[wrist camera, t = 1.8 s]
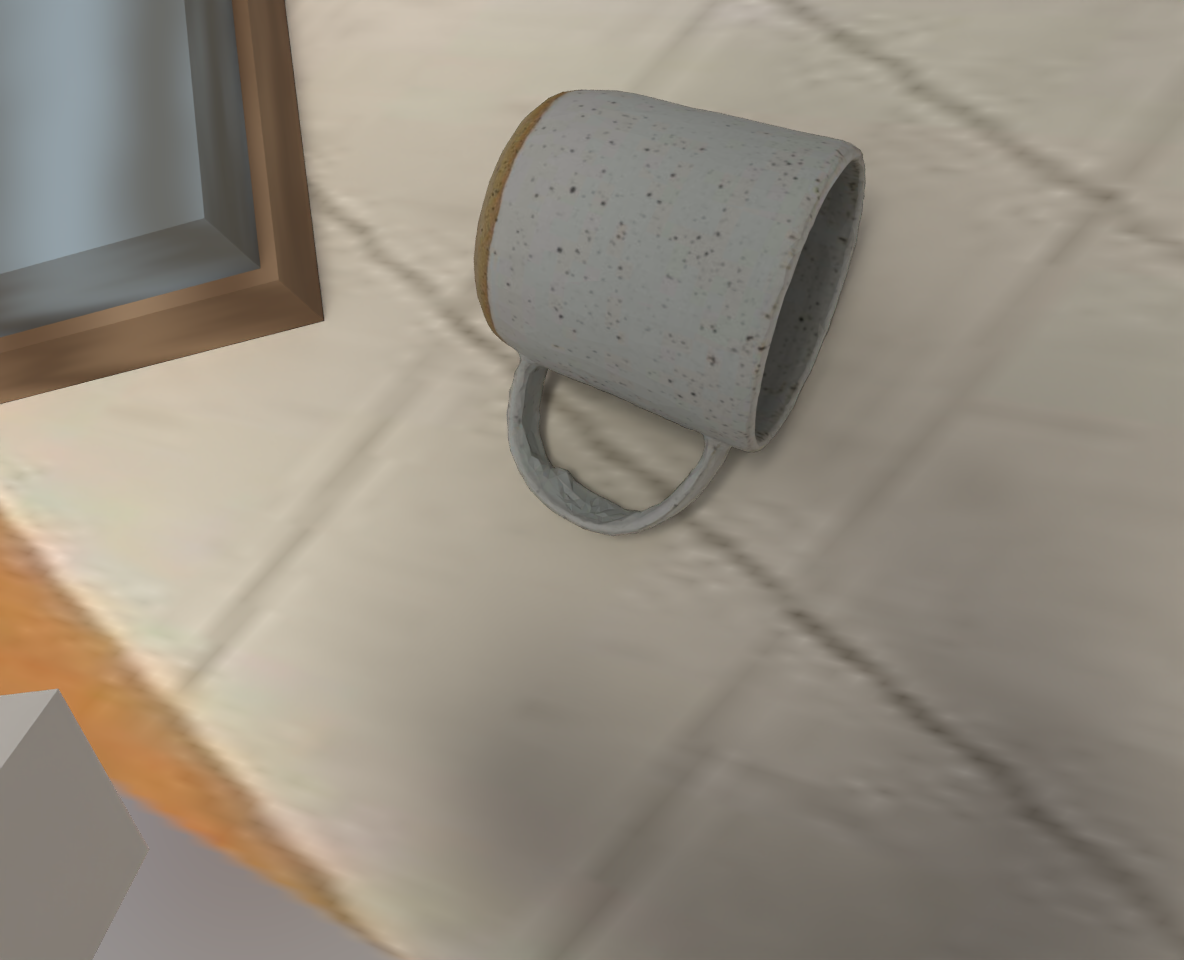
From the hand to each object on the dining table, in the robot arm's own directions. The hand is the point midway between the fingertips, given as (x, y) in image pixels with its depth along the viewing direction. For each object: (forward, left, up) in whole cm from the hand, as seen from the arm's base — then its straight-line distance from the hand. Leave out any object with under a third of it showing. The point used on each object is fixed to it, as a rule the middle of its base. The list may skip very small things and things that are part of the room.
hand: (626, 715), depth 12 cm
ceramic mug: (-1, -10, -17) cm, 20 cm away
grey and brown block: (+17, -22, -16) cm, 32 cm away
